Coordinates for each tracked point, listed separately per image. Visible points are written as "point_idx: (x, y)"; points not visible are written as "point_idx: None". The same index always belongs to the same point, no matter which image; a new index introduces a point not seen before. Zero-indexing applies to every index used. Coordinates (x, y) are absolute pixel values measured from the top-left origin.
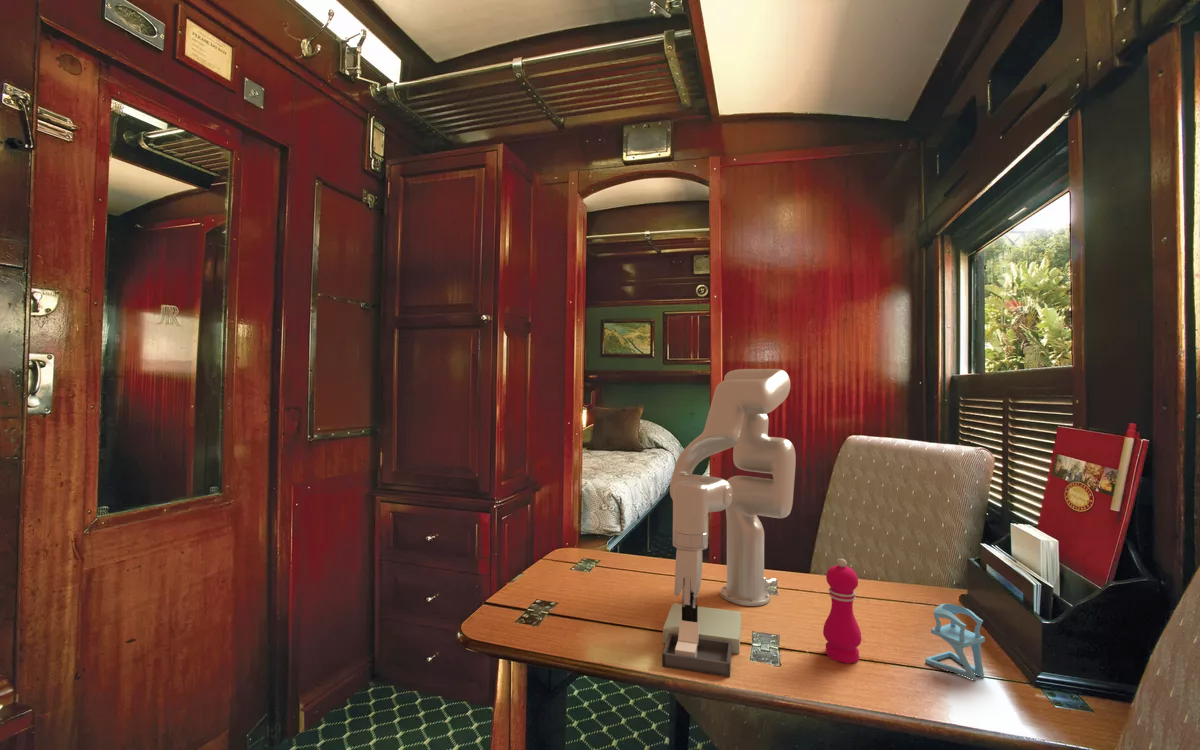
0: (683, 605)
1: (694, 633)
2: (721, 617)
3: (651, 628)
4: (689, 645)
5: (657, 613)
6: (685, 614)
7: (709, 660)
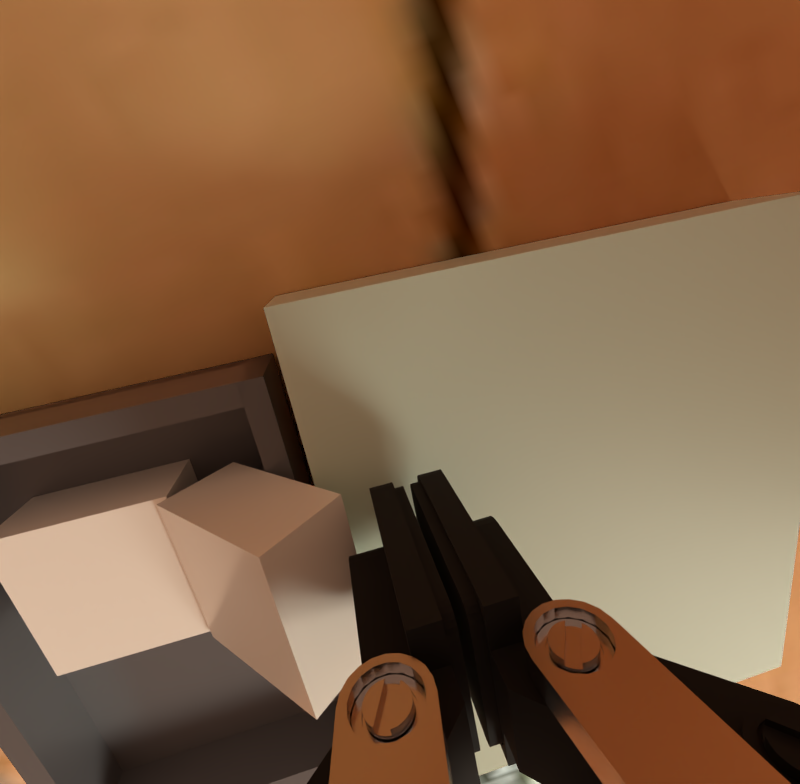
0: (341, 721)
1: (243, 643)
2: (672, 614)
3: (469, 106)
4: (145, 601)
5: (746, 56)
6: (355, 613)
7: (31, 775)
